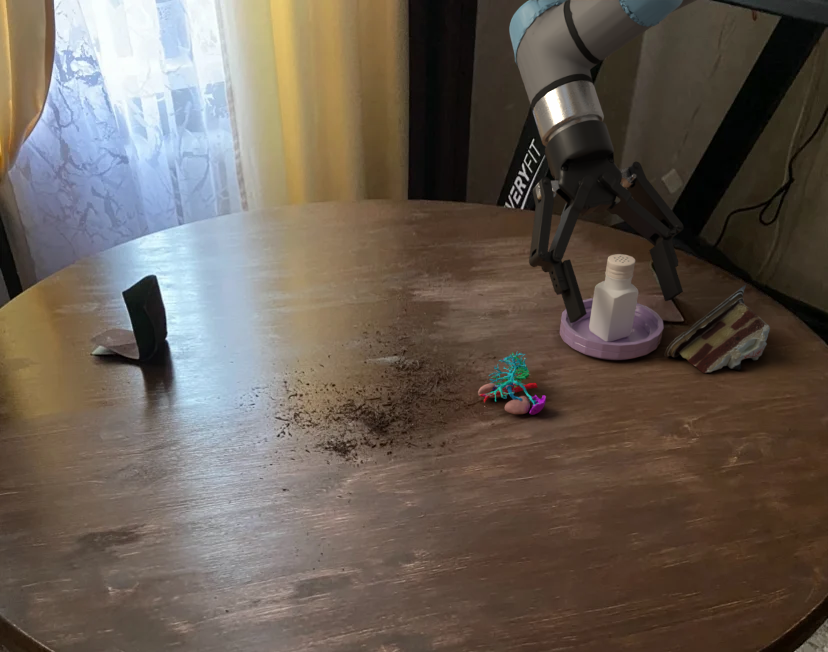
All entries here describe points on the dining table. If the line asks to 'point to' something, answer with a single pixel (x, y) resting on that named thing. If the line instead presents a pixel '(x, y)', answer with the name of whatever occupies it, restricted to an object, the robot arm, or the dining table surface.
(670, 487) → the dining table surface
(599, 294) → the pepper shaker
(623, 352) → the dish
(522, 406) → the anatomy model
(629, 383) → the dining table surface
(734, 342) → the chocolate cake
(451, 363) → the dining table surface
